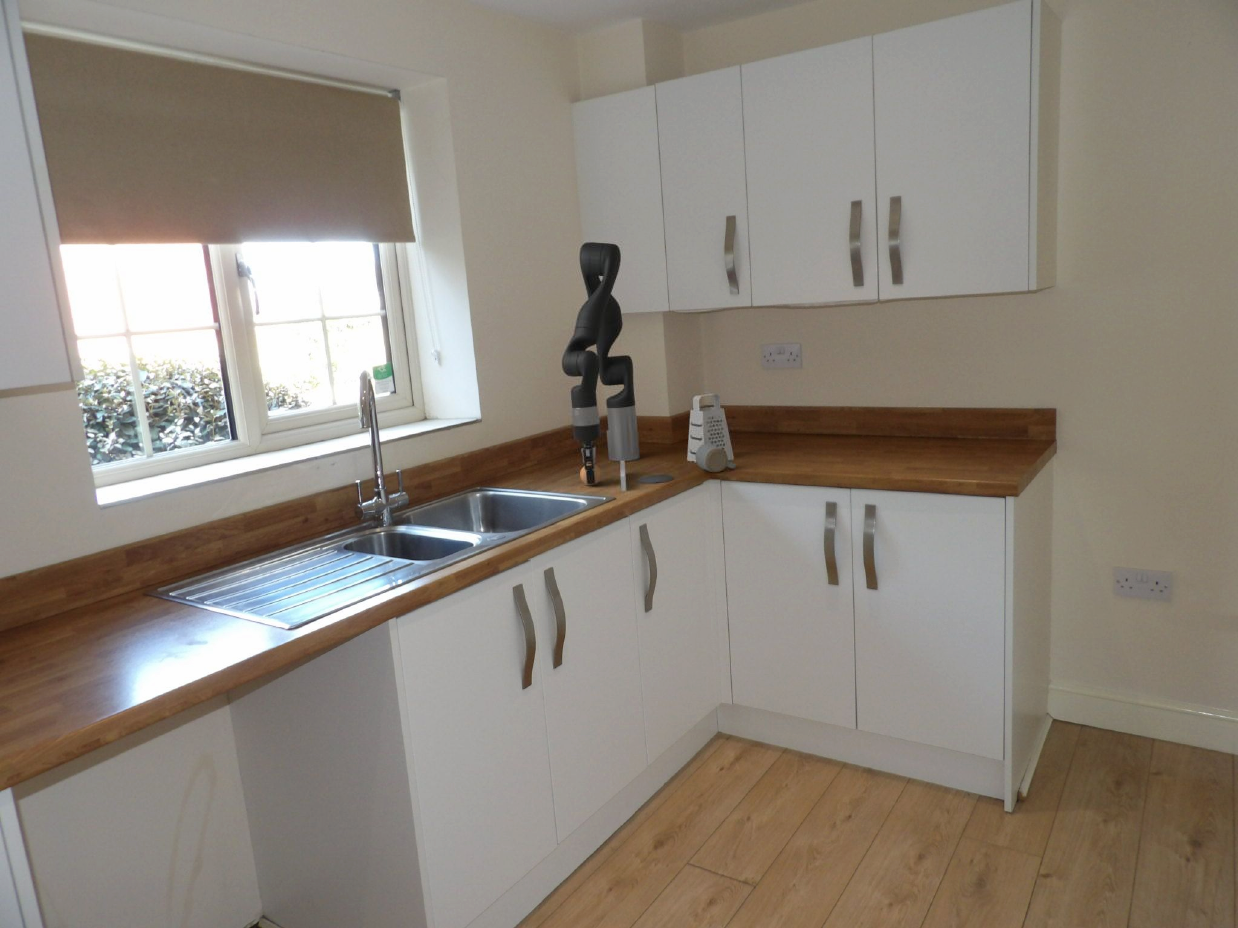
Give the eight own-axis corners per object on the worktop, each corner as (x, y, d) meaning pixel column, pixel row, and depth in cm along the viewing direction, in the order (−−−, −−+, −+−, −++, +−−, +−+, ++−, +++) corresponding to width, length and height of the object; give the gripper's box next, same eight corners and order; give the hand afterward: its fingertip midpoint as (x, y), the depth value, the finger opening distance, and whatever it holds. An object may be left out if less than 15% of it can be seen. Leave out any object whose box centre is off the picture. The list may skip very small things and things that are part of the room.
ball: (576, 486, 254) (574, 465, 252) (592, 482, 258) (590, 461, 257) (591, 488, 249) (589, 466, 248) (606, 483, 253) (604, 462, 252)
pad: (630, 481, 253) (630, 480, 253) (654, 474, 260) (654, 473, 260) (656, 484, 246) (656, 483, 246) (680, 477, 253) (680, 476, 253)
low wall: (621, 474, 265) (620, 461, 264) (625, 474, 265) (624, 460, 264) (621, 491, 242) (620, 476, 241) (626, 490, 241) (625, 476, 241)
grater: (734, 459, 274) (730, 394, 270) (704, 464, 270) (699, 398, 266) (716, 455, 283) (711, 392, 280) (687, 460, 279) (682, 396, 276)
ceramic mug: (706, 474, 254) (705, 448, 252) (695, 470, 262) (694, 444, 260) (740, 470, 257) (739, 444, 255) (729, 466, 264) (728, 440, 263)
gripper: (599, 425, 243) (604, 485, 246) (600, 418, 257) (605, 475, 260) (571, 427, 243) (577, 487, 246) (574, 420, 257) (579, 477, 260)
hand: (591, 481), depth 253 cm, fingers closed on ball, 6 cm apart
